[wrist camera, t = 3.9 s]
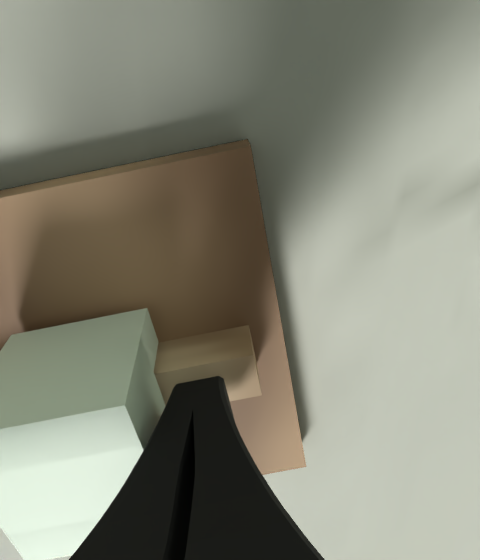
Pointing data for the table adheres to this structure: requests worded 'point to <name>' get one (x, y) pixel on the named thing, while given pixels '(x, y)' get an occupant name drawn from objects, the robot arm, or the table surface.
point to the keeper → (72, 426)
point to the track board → (162, 277)
